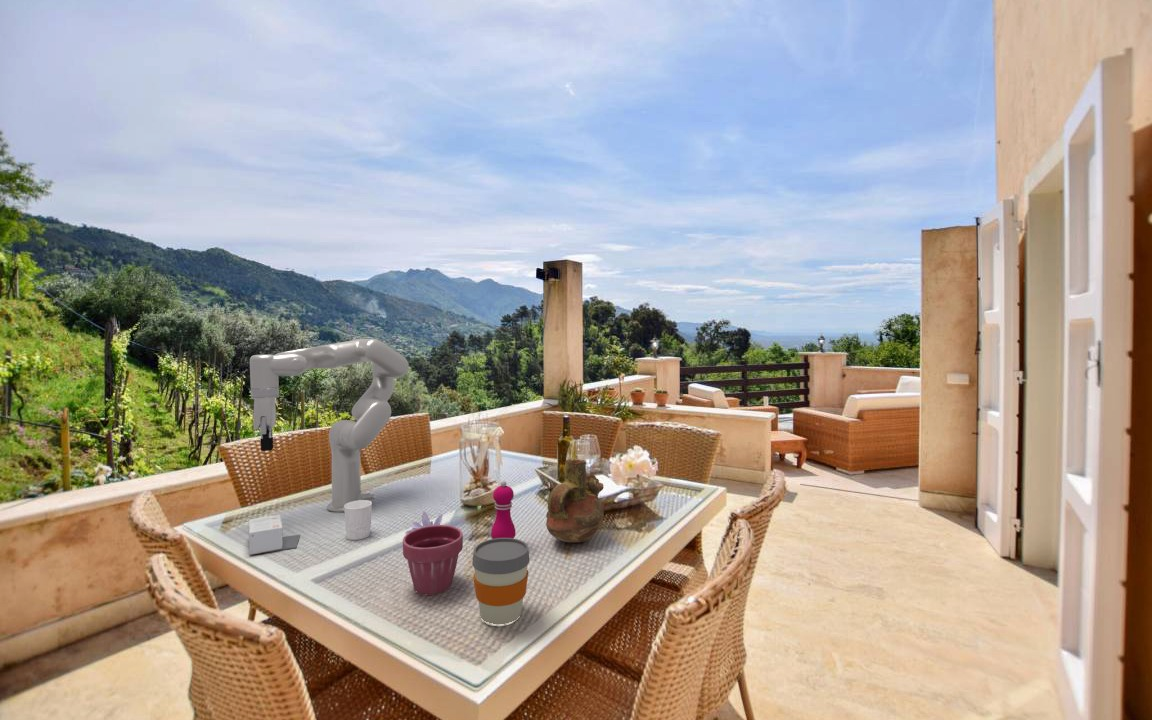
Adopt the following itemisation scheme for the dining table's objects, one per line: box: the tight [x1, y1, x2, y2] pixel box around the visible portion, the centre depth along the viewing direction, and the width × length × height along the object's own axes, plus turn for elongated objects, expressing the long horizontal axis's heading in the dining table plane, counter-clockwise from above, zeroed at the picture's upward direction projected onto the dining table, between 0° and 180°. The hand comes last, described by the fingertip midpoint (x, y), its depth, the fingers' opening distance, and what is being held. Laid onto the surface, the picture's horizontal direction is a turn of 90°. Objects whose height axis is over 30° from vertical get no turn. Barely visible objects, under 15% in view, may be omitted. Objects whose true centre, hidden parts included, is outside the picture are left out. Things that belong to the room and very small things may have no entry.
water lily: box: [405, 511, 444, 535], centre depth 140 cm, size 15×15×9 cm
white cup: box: [344, 500, 373, 541], centre depth 150 cm, size 8×8×10 cm
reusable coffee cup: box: [472, 538, 531, 624], centre depth 107 cm, size 13×13×15 cm
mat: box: [252, 534, 301, 555], centre depth 143 cm, size 11×10×1 cm
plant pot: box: [402, 524, 464, 596], centre depth 120 cm, size 14×14×13 cm
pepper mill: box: [490, 480, 517, 539], centre depth 142 cm, size 7×7×20 cm
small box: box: [248, 514, 284, 556], centre depth 143 cm, size 8×6×13 cm
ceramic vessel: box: [545, 458, 605, 543], centre depth 150 cm, size 17×26×25 cm, turn 145°
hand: (267, 450), depth 155 cm, fingers closed
